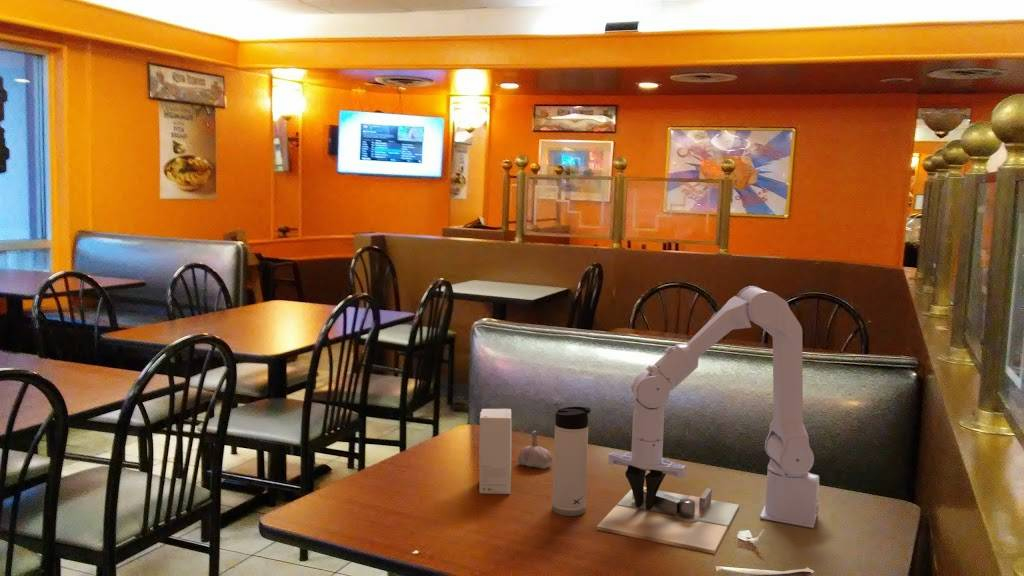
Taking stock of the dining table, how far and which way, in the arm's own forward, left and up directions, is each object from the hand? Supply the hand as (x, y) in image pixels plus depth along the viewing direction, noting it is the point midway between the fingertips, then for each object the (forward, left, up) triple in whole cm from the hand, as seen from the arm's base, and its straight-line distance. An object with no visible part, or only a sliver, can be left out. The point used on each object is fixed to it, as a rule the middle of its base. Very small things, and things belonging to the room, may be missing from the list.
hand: (644, 507), depth 154 cm
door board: (-5, 0, -1) cm, 5 cm away
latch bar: (-3, -2, 0) cm, 4 cm away
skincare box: (+31, +1, -2) cm, 31 cm away
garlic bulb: (+29, -15, -2) cm, 33 cm away
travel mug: (+13, +5, -2) cm, 14 cm away
